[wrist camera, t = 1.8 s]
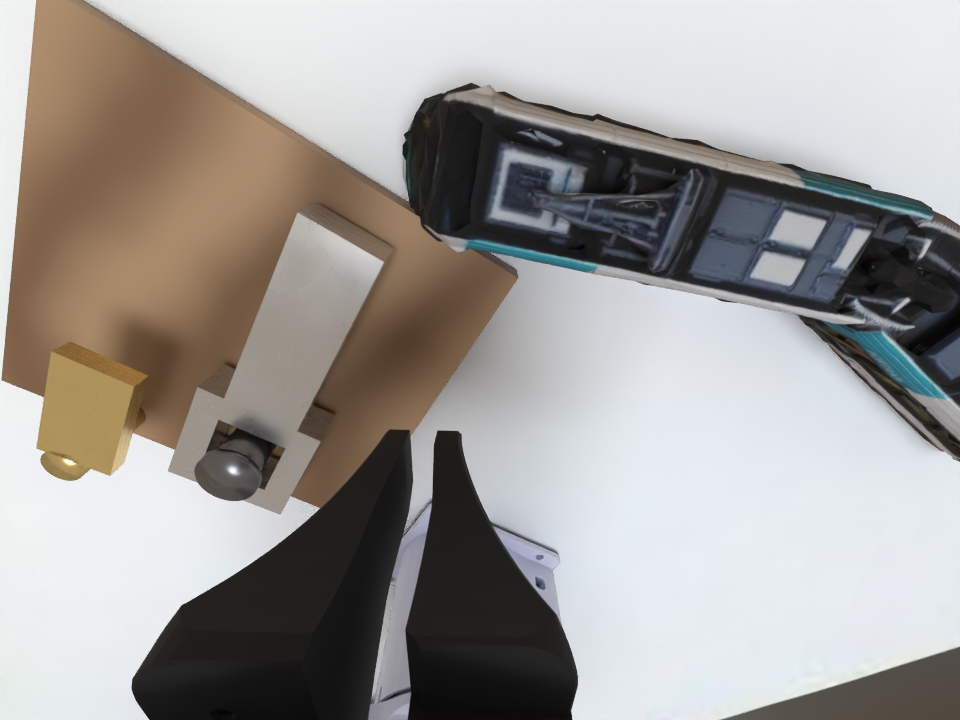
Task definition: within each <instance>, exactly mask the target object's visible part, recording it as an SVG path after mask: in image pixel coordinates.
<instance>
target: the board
mask: <svg viewBox="0 0 960 720" xmlns="http://www.w3.org/2000/svg"><path fill="white" fill-rule="evenodd" d="M317 203H318V204H320V205H322V206H323V207H325V208H327V209H328V210H330V211H332V212H334V213H335V214H337V215H339V216H340V217H342V218H344V219H346V220H347V221H349V222H351V223H352V224H354V225H356V226H357V227H359V228H361V229H363V230H364V231H366V232H368V233H369V234H371V235H373V236H375V237H376V238H378V239H380V240H381V241H383V242H385V243H386V244H388V245H390V246H392V247H393V248H394V250H393V252H392V254H391V256H390V258H389V260H388V262H387V263H386V265H385V267H384V269H383V271H382V273H381V275H380V277H379V279H378V281H377V283H376V285H375V287H374V289H373V290H372V292H371V294H370V296H369V298H368V300H367V302H366V304H365V306H364V308H363V310H362V312H361V314H360V316H359V317H358V319H357V321H356V323H355V325H354V327H353V329H352V331H351V333H350V335H349V337H348V339H347V341H346V343H345V344H344V346H343V348H342V350H341V352H340V354H339V356H338V358H337V360H336V362H335V364H334V366H333V368H332V370H331V371H330V373H329V375H328V377H327V379H326V381H325V383H324V385H323V387H322V389H321V391H320V393H319V395H318V397H317V398H316V400H315V402H314V404H313V405H314V406H316V407H318V408H320V409H323V410H325V411H327V412H329V413H331V414H333V415H334V417H333V419H332V421H331V423H330V425H329V427H328V429H327V431H326V433H325V434H324V436H323V438H322V440H321V442H320V444H319V446H318V448H317V449H316V451H315V453H314V455H313V456H312V458H311V460H310V462H309V464H308V465H307V467H306V469H305V471H304V473H303V474H302V476H301V478H300V480H299V482H298V483H297V485H296V487H295V489H294V491H293V492H292V494H291V496H292V497H294V498H297V499H299V500H302V501H304V502H307V503H309V504H312V505H314V506H317V507H319V508H321V507H322V506H323V505H324V504H325V503H327V502H328V501H329V500H330V499H331V498H332V497H333V495H334V494H335V493H336V492H337V491H338V490H339V489H340V488H341V487H342V486H343V485H344V484H345V483H346V482H347V481H348V480H349V478H350V477H351V476H352V475H353V474H354V473H355V471H356V470H357V469H358V468H359V467H360V466H361V464H362V463H363V462H364V461H365V460H366V458H367V457H368V456H369V455H370V453H371V452H372V451H373V450H374V448H375V447H376V446H377V444H378V443H379V442H380V440H381V439H382V437H383V436H384V435H385V433H386V432H387V431H388V430H390V429H395V430H410V436H411V435H412V433H413V432H414V430H415V429H416V427H417V426H418V424H419V423H420V422H421V420H422V419H423V417H424V416H425V414H426V413H427V411H428V410H429V408H430V407H431V405H432V404H433V402H434V401H435V399H436V398H437V397H438V395H439V394H440V392H441V391H442V389H443V388H444V386H445V385H446V383H447V382H448V380H449V379H450V377H451V376H452V374H453V373H454V372H455V370H456V369H457V367H458V366H459V364H460V363H461V361H462V360H463V358H464V357H465V355H466V354H467V352H468V351H469V349H470V348H471V346H472V345H473V344H474V342H475V341H476V339H477V338H478V336H479V335H480V333H481V332H482V330H483V329H484V327H485V326H486V324H487V323H488V321H489V320H490V319H491V317H492V316H493V314H494V313H495V311H496V310H497V308H498V307H499V305H500V304H501V302H502V301H503V299H504V298H505V296H506V295H507V294H508V292H509V291H510V289H511V288H512V286H513V285H514V283H515V282H516V280H517V279H518V275H517V271H516V269H514V268H513V267H511V266H510V265H508V264H506V263H505V262H503V261H502V260H500V259H498V258H497V257H495V256H494V255H492V254H490V253H489V252H487V251H483V250H474V249H469V250H465V251H462V252H456V251H455V250H453V249H452V248H451V247H449V246H448V245H447V244H446V243H445V242H439V241H437V240H435V239H434V238H433V237H432V236H431V235H430V234H428V233H427V232H426V231H425V230H424V229H423V228H422V226H421V221H420V217H419V216H417V215H416V214H415V211H414V209H413V208H411V207H410V203H408V202H407V201H405V200H403V199H402V198H400V197H399V196H397V195H395V194H394V193H392V192H391V191H389V190H387V189H386V188H384V187H382V186H381V185H379V184H378V183H376V182H374V181H373V180H371V179H370V178H368V177H366V176H365V175H363V174H362V173H360V172H358V171H357V170H355V169H353V168H352V167H350V166H349V165H347V164H345V163H344V162H342V161H341V160H339V159H337V158H336V157H334V156H333V155H331V154H329V153H328V152H326V151H325V150H323V149H321V148H320V147H318V146H316V145H315V144H313V143H312V142H310V141H308V140H307V139H305V138H304V137H302V136H300V135H299V134H297V133H296V132H294V131H292V130H291V129H289V128H287V127H286V126H284V125H283V124H281V123H279V122H278V121H276V120H275V119H273V118H271V117H270V116H268V115H267V114H265V113H263V112H262V111H260V110H259V109H257V108H255V107H254V106H252V105H250V104H249V103H247V102H246V101H244V100H242V99H241V98H239V97H238V96H236V95H234V94H233V93H231V92H230V91H228V90H226V89H225V88H223V87H221V86H220V85H218V84H217V83H215V82H213V81H212V80H210V79H209V78H207V77H205V76H204V75H202V74H201V73H199V72H197V71H196V70H194V69H193V68H191V67H189V66H188V65H186V64H184V63H183V62H181V61H180V60H178V59H176V58H175V57H173V56H172V55H170V54H168V53H167V52H165V51H164V50H162V49H160V48H159V47H157V46H155V45H154V44H152V43H151V42H149V41H147V40H146V39H144V38H143V37H141V36H139V35H138V34H136V33H135V32H133V31H131V30H130V29H128V28H127V27H125V26H123V25H122V24H120V23H118V22H117V21H115V20H114V19H112V18H110V17H109V16H107V15H106V14H104V13H102V12H101V11H99V10H98V9H96V8H94V7H93V6H91V5H89V4H88V3H86V2H85V1H83V0H36V10H35V21H34V32H33V43H32V54H31V64H30V75H29V86H28V97H27V108H26V119H25V130H24V141H23V152H22V162H21V173H20V184H19V195H18V206H17V217H16V228H15V239H14V250H13V261H12V271H11V282H10V293H9V304H8V315H7V326H6V337H5V348H4V359H3V369H2V381H5V382H7V383H10V384H12V385H15V386H17V387H20V388H22V389H25V390H27V391H30V392H32V393H35V394H37V395H40V396H42V397H44V395H45V389H46V382H47V375H48V369H49V362H50V356H51V351H53V350H55V349H57V348H59V347H61V346H62V345H64V344H66V343H68V342H73V343H75V344H77V345H80V346H82V347H84V348H86V349H89V350H91V351H93V352H96V353H98V354H100V355H102V356H105V357H107V358H109V359H112V360H114V361H116V362H119V363H121V364H123V365H125V366H128V367H130V368H132V369H135V370H137V371H139V372H141V373H144V374H146V375H148V376H149V377H148V381H147V384H146V388H145V391H144V395H143V398H142V402H141V405H140V407H141V408H142V409H143V410H144V412H145V415H146V420H145V422H144V423H143V424H142V425H141V426H140V427H138V428H137V429H136V430H135V431H134V432H133V433H135V434H137V435H140V436H142V437H145V438H147V439H150V440H152V441H155V442H157V443H160V444H162V445H165V446H167V447H170V448H172V449H176V446H177V444H178V441H179V438H180V435H181V432H182V429H183V427H184V424H185V421H186V418H187V415H188V412H189V410H190V407H191V404H192V401H193V398H194V395H195V393H196V390H197V387H198V386H199V385H200V384H201V383H203V382H204V381H205V380H206V379H207V378H208V377H209V376H210V375H211V374H213V373H214V372H215V371H216V370H217V369H218V368H219V367H220V366H221V365H222V364H225V365H227V366H229V367H232V368H234V369H236V367H237V365H238V362H239V360H240V357H241V355H242V352H243V349H244V347H245V344H246V342H247V339H248V337H249V334H250V332H251V329H252V327H253V324H254V322H255V319H256V316H257V314H258V311H259V309H260V306H261V304H262V301H263V299H264V296H265V294H266V291H267V289H268V286H269V284H270V281H271V278H272V276H273V273H274V271H275V268H276V266H277V263H278V261H279V258H280V256H281V253H282V251H283V248H284V245H285V243H286V240H287V238H288V235H289V233H290V230H291V228H292V225H293V223H294V220H295V218H296V215H297V212H299V211H302V210H304V209H306V208H308V207H311V206H313V205H315V204H317ZM236 428H237V427H234V426H232V425H230V424H229V426H228V428H227V431H226V433H225V436H224V437H225V438H228V437H229V436H230V435H231V434H232V432H233V431H234V430H235V429H236ZM285 449H286V448H284V447H281V446H279V445H277V446H276V448H275V450H274V451H273V453H272V454H271V456H270V457H273V458H275V459H277V460H280V458H281V456H282V454H283V452H284V451H285Z"/></svg>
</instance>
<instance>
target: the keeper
mask: <svg viewBox="0 0 960 720" xmlns="http://www.w3.org/2000/svg"><path fill="white" fill-rule="evenodd" d="M148 377H149V376H148V375H146V374H144V373H141V372H139V371H137V370H135V369H132V368H130V367H128V366H125V365H123V364H121V363H119V362H116V361H114V360H112V359H109V358H107V357H105V356H102V355H100V354H98V353H96V352H93V351H91V350H89V349H86V348H84V347H82V346H80V345H77V344H75V343H73V342H68V343H66V344H64V345H62V346H61V347H59V348H57V349H55V350H53V351H51V356H50V362H49V369H48V375H47V382H46V389H45V395H44V402H43V408H42V415H41V422H40V428H39V435H38V442H37V449H39V450H42V451H45V453H44V454H43V455H42V456H41V464H42V466H43V467H44V469H45V470H46V471H47V472H49V473H50V474H51V475H53V476H55V477H57V478H60V479H63V480H69V481H73V480H77V479H79V478H81V477H82V476H83V475H84V474H85V473H86V472H88V471H89V470H90V469H93V470H96V471H99V472H101V473H104V474H107V475H109V476H110V475H112V474H113V473H114V472H115V471H116V470H117V469H118V468H119V467H120V466H121V465H122V464H123V463H124V462H125V458H126V454H127V451H128V447H129V444H130V440H131V437H132V433H133V432H134V431H135V430H136V429H137V428H138V427H140V426H141V425H142V424H143V423H144V422H145V420H146V415H145V412H144V410H143V409H142V408H141V407H140V405H141V402H142V398H143V395H144V391H145V388H146V384H147V381H148Z"/></svg>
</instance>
